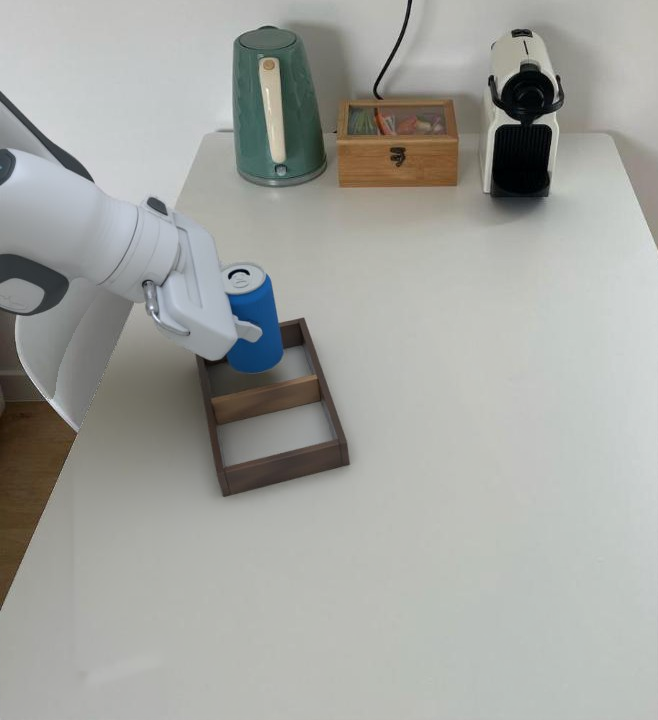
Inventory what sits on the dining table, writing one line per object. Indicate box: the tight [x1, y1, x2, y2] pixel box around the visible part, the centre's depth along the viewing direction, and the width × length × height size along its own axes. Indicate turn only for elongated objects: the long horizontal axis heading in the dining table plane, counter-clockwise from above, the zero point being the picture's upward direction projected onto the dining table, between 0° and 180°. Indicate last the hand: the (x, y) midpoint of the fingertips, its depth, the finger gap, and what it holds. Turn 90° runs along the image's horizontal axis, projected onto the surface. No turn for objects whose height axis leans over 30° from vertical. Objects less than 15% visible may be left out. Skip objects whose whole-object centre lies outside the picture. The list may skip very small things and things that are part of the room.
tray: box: [194, 317, 351, 497], centre depth 92 cm, size 14×22×4 cm, turn 17°
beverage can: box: [219, 260, 284, 375], centre depth 90 cm, size 6×6×12 cm
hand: (252, 312), depth 90 cm, fingers closed on beverage can, 6 cm apart
